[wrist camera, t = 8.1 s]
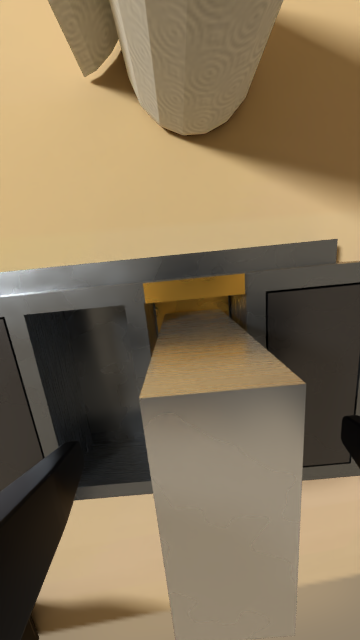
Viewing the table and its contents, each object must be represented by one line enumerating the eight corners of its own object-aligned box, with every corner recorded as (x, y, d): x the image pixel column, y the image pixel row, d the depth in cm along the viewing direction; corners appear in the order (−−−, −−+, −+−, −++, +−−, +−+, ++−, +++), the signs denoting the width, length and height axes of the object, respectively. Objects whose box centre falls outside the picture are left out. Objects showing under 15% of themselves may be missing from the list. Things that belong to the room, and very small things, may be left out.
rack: (23, 461, 15) (-35, 532, 11) (-35, 277, 12) (-142, 279, 8) (314, 435, 15) (366, 497, 11) (324, 241, 12) (400, 225, 8)
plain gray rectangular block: (177, 423, 13) (176, 644, 5) (165, 313, 12) (138, 398, 4) (225, 419, 13) (295, 635, 5) (219, 308, 12) (306, 384, 4)
